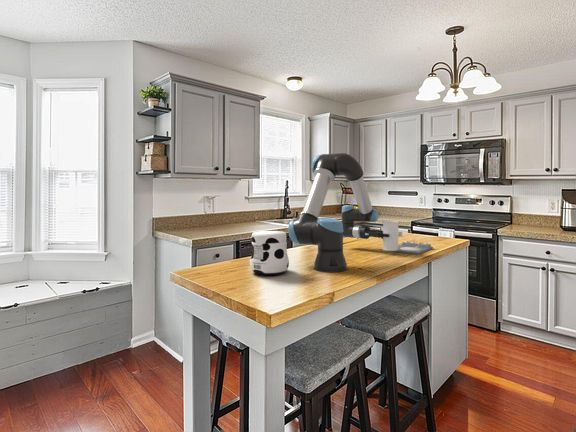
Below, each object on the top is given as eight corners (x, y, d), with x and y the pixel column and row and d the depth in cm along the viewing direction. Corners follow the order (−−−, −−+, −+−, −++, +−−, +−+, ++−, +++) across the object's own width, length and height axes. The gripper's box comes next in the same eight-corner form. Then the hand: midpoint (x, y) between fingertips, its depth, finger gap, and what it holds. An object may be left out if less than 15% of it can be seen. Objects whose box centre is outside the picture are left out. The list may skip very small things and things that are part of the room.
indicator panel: (417, 254, 192) (417, 247, 192) (386, 251, 204) (386, 244, 204) (432, 248, 210) (433, 242, 210) (403, 245, 222) (404, 239, 222)
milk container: (288, 267, 166) (287, 230, 165) (289, 277, 149) (289, 235, 148) (251, 268, 166) (250, 230, 164) (249, 278, 148) (247, 236, 147)
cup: (382, 250, 194) (382, 221, 193) (383, 248, 202) (383, 220, 200) (398, 251, 191) (398, 221, 190) (397, 248, 199) (398, 220, 198)
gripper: (370, 236, 216) (406, 239, 201) (352, 240, 200) (390, 244, 185) (370, 224, 215) (406, 226, 200) (352, 227, 200) (390, 230, 185)
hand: (398, 235), depth 193 cm, fingers closed on cup, 8 cm apart
